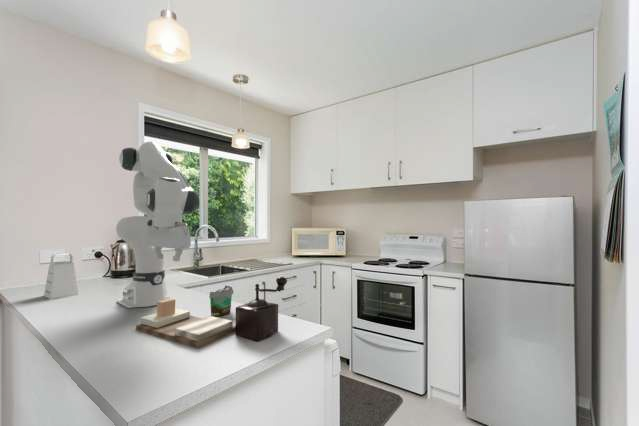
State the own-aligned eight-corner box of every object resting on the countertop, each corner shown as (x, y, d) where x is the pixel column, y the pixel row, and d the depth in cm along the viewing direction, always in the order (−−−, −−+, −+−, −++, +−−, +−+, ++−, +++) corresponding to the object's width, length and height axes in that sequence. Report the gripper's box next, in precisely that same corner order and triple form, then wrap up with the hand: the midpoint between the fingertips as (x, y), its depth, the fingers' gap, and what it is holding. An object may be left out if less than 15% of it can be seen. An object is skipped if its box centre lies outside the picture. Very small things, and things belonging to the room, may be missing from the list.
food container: (223, 319, 114) (224, 293, 114) (208, 318, 115) (209, 292, 116) (238, 309, 126) (239, 286, 126) (225, 309, 127) (225, 285, 128)
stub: (140, 323, 105) (140, 303, 105) (174, 312, 116) (174, 294, 116) (156, 327, 101) (157, 306, 101) (189, 316, 112) (190, 297, 112)
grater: (43, 295, 147) (44, 254, 147) (70, 291, 155) (71, 252, 155) (50, 299, 141) (51, 256, 141) (78, 294, 149) (78, 254, 149)
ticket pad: (135, 329, 104) (135, 319, 104) (177, 316, 118) (177, 307, 118) (198, 348, 89) (198, 336, 89) (236, 330, 103) (236, 320, 103)
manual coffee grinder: (260, 343, 93) (260, 284, 94) (234, 335, 99) (234, 280, 99) (289, 327, 107) (289, 276, 107) (264, 321, 112) (265, 273, 113)
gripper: (195, 222, 107) (194, 261, 107) (159, 221, 117) (158, 257, 117) (179, 222, 102) (179, 263, 101) (143, 221, 111) (142, 259, 111)
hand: (168, 260), depth 109 cm, fingers open, 8 cm apart
